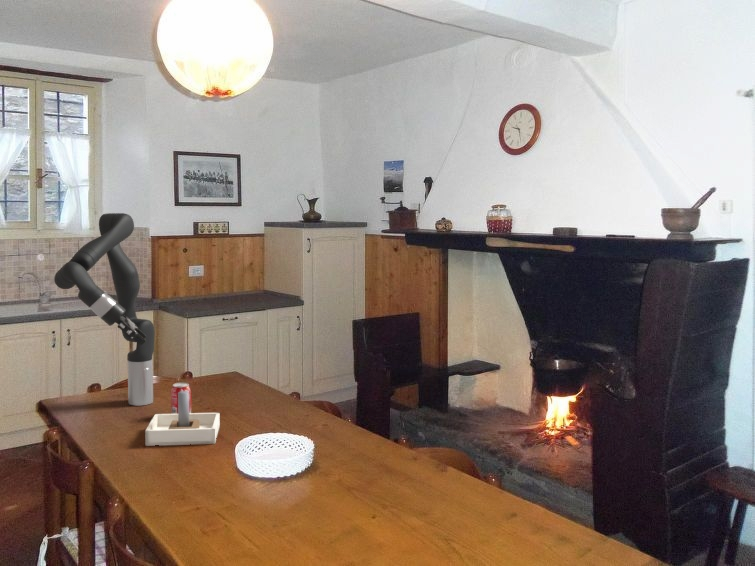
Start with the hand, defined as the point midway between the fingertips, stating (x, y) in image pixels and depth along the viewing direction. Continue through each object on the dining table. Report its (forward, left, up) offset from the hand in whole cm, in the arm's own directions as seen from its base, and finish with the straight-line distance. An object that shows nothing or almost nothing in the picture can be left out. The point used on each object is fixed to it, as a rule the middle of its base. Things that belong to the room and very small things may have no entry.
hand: (143, 340), depth 240 cm
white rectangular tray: (+11, +15, -31) cm, 36 cm away
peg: (+11, +15, -30) cm, 35 cm away
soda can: (-11, +11, -31) cm, 34 cm away
